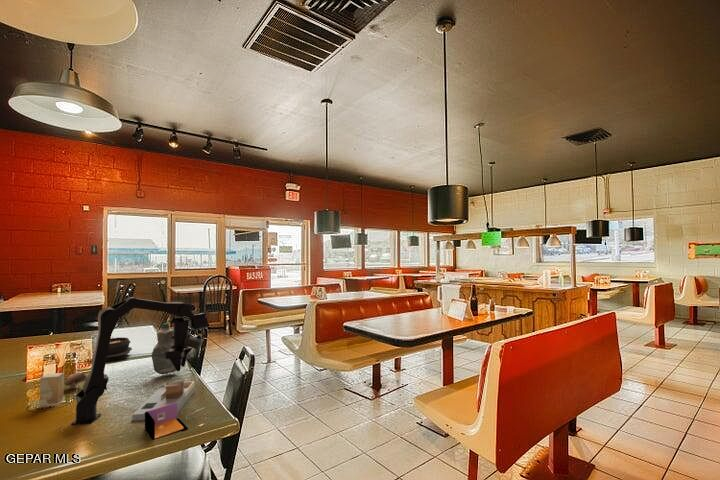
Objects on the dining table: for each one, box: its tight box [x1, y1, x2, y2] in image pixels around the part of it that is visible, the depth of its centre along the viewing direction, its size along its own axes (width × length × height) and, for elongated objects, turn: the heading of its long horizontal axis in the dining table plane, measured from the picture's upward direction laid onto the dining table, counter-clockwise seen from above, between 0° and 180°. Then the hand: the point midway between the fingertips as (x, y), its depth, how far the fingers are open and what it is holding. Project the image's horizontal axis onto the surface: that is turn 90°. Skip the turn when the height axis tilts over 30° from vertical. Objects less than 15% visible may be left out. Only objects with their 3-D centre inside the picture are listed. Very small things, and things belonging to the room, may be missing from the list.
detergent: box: [151, 322, 177, 375], centre depth 172 cm, size 13×7×25 cm, turn 124°
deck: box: [131, 380, 196, 421], centre depth 137 cm, size 24×14×4 cm, turn 9°
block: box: [165, 380, 185, 399], centre depth 139 cm, size 5×5×5 cm
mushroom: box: [64, 372, 87, 390], centre depth 155 cm, size 8×8×6 cm
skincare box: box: [38, 372, 65, 408], centre depth 138 cm, size 6×4×12 cm
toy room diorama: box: [144, 403, 189, 441], centre depth 118 cm, size 12×12×7 cm
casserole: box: [107, 337, 133, 359], centre depth 204 cm, size 25×19×8 cm
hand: (180, 368), depth 146 cm, fingers open, 5 cm apart
